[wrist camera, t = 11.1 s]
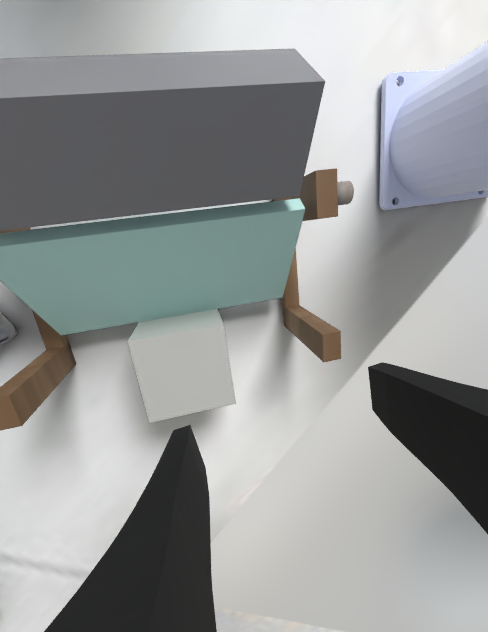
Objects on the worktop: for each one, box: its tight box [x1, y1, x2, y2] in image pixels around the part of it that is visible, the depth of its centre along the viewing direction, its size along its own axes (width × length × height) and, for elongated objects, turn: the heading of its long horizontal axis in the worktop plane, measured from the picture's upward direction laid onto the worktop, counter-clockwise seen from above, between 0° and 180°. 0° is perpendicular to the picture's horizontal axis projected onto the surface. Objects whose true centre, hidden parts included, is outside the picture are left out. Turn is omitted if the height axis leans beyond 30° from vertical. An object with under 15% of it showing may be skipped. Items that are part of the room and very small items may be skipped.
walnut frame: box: [0, 169, 354, 430], centre depth 15 cm, size 18×14×6 cm
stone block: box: [128, 309, 236, 423], centre depth 18 cm, size 5×5×5 cm
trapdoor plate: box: [0, 49, 325, 335], centre depth 14 cm, size 14×12×3 cm
